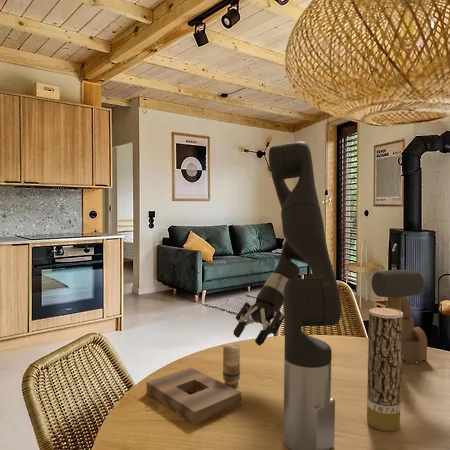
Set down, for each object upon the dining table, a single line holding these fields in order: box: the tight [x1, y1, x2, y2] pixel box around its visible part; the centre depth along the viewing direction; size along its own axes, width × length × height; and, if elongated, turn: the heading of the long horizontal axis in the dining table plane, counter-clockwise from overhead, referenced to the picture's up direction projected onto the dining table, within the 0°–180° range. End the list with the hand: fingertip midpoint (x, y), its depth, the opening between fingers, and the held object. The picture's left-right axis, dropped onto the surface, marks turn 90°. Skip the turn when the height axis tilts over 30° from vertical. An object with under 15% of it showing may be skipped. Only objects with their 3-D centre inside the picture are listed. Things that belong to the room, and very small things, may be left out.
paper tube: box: [366, 307, 403, 432], centre depth 90 cm, size 7×7×25 cm
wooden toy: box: [386, 296, 428, 364], centre depth 131 cm, size 16×7×25 cm, turn 25°
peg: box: [222, 343, 241, 387], centre depth 110 cm, size 5×5×10 cm
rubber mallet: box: [371, 269, 425, 376], centre depth 114 cm, size 12×8×30 cm, turn 102°
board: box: [146, 366, 242, 426], centre depth 102 cm, size 20×14×3 cm
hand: (246, 339), depth 114 cm, fingers open, 8 cm apart
